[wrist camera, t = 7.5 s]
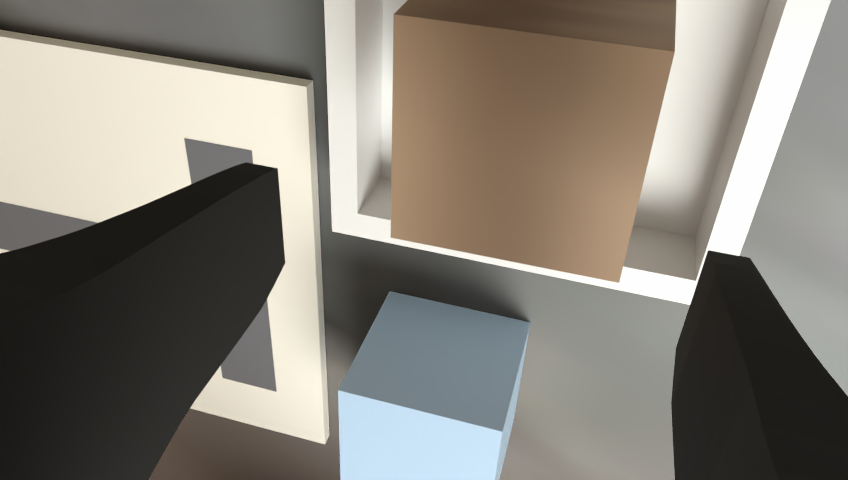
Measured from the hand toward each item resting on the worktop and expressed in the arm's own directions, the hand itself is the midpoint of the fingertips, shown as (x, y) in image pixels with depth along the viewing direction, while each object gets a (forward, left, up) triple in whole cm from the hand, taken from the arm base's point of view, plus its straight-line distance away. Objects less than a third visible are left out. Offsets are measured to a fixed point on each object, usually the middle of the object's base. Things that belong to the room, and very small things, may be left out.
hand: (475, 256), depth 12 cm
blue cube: (+2, +12, -10) cm, 15 cm away
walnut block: (0, 0, -9) cm, 9 cm away
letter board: (+15, +10, -9) cm, 20 cm away
